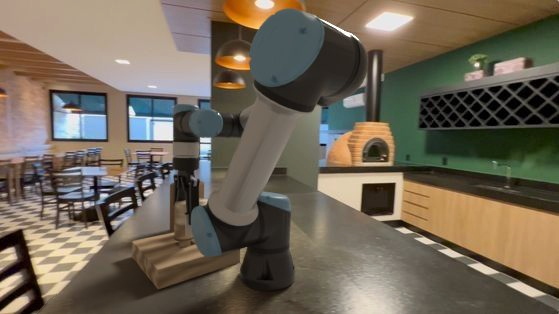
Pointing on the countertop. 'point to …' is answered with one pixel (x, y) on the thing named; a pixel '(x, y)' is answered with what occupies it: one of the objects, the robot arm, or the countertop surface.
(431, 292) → the countertop surface
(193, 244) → the seat board
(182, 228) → the peg
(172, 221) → the block
